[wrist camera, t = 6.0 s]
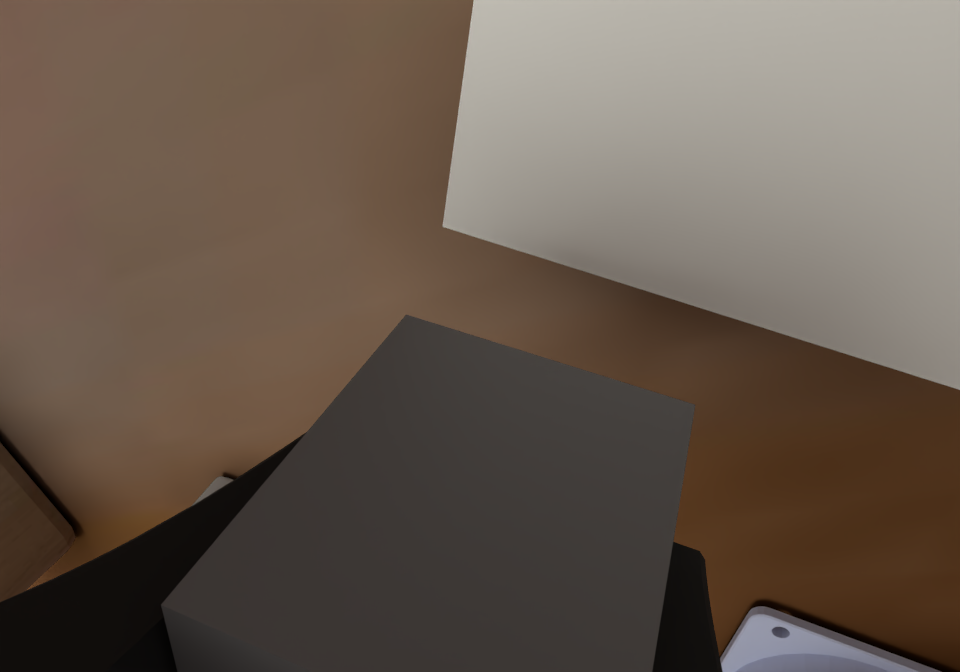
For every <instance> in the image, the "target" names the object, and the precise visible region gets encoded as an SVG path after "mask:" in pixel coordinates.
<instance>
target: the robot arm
mask: <svg viewBox="0 0 960 672" xmlns="http://www.w3.org/2000/svg"><path fill="white" fill-rule="evenodd" d="M306 433H307V432H306ZM306 433H305V434H306ZM305 434H303V435H302V436H300V437H299V438H297V439H296V440H294V441H293V442H291V443H290V444H288V445H287V446H285V447H284V448H282V449H281V450H279V451H278V452H276V453H275V454H273V455H272V456H270V457H269V458H267V459H266V460H264V461H263V462H261V463H260V464H258V465H256V466H255V467H253V468H252V469H250V470H249V471H247V472H246V473H244V474H243V475H241V476H239V477H238V478H236V479H235V480H233V481H231V482H230V483H228V484H226V485H225V486H223V487H222V488H220V489H218V490H217V491H215V492H214V493H212V494H210V495H209V496H207V497H206V498H204V499H202V500H201V501H199V502H197V503H196V504H194V505H192V506H191V507H189V508H187V509H186V510H184V511H182V512H180V513H178V514H177V515H175V516H173V517H171V518H170V519H168V520H166V521H164V522H163V523H161V524H159V525H157V526H155V527H154V528H152V529H150V530H148V531H147V532H145V533H143V534H141V535H140V536H138V537H136V538H134V539H132V540H130V541H128V542H127V543H125V544H123V545H121V546H119V547H117V548H115V549H113V550H111V551H109V552H107V553H105V554H103V555H101V556H99V557H97V558H95V559H93V560H91V561H89V562H87V563H85V564H83V565H81V566H79V567H77V568H75V569H73V570H71V571H69V572H67V573H64V574H62V575H60V576H58V577H56V578H54V579H52V580H49V581H47V582H45V583H43V584H40V585H38V586H36V587H34V588H31V589H29V590H27V591H24V592H22V593H20V594H18V595H15V596H13V597H11V598H8V599H6V600H4V601H2V602H0V672H177V668H176V664H175V660H174V656H173V652H172V648H171V644H170V639H169V635H168V631H167V627H166V623H165V619H164V615H163V611H162V607H161V604H162V603H163V602H164V601H165V599H166V598H167V597H168V596H169V595H170V594H171V592H172V591H173V590H174V589H175V588H176V586H177V585H178V584H179V583H180V582H181V581H182V579H183V578H184V577H185V576H186V575H187V573H188V572H189V571H190V570H191V569H192V568H193V566H194V565H195V564H196V563H197V562H198V560H199V559H200V558H201V557H202V556H203V555H204V553H205V552H206V551H207V550H208V549H209V547H210V546H211V545H212V544H213V543H214V541H215V540H216V539H217V538H218V537H219V536H220V534H221V533H222V532H223V531H224V530H225V528H226V527H227V526H228V525H229V524H230V523H231V521H232V520H233V519H234V518H235V517H236V515H237V514H238V513H239V512H240V511H241V510H242V508H243V507H244V506H245V505H246V504H247V502H248V501H249V500H250V499H251V498H252V497H253V495H254V494H255V493H256V492H257V491H258V489H259V488H260V487H261V486H262V485H263V484H264V482H265V481H266V480H267V479H268V478H269V476H270V475H271V474H272V473H273V472H274V470H275V469H276V468H277V467H278V466H279V465H280V463H281V462H282V461H283V460H284V459H285V457H286V456H287V455H288V454H289V453H290V452H291V450H292V449H293V448H294V447H295V446H296V444H297V443H298V442H299V441H300V440H301V439H302V437H303V436H304V435H305ZM782 627H783V628H782ZM652 672H941V671H939V670H936V669H933V668H931V667H928V666H925V665H923V664H920V663H917V662H914V661H912V660H909V659H906V658H904V657H901V656H898V655H896V654H893V653H890V652H888V651H885V650H882V649H880V648H877V647H874V646H871V645H869V644H866V643H863V642H861V641H858V640H855V639H853V638H850V637H847V636H845V635H842V634H839V633H837V632H834V631H831V630H828V629H826V628H823V627H820V626H818V625H815V624H812V623H810V622H807V621H804V620H802V619H799V618H796V617H793V616H791V615H788V614H785V613H783V612H780V611H777V610H775V609H772V608H769V607H765V606H758V607H755V608H752V609H751V610H750V611H749V612H748V614H747V615H746V617H745V619H744V620H743V622H742V623H741V625H740V627H739V628H738V630H737V632H736V633H735V635H734V636H733V638H732V640H731V641H730V643H729V645H728V646H727V648H726V649H725V651H724V653H723V654H722V656H721V658H720V657H719V652H718V647H717V641H716V636H715V631H714V625H713V620H712V614H711V607H710V601H709V594H708V586H707V577H706V567H705V559H704V557H703V556H702V554H701V553H700V551H697V550H695V549H692V548H689V547H686V546H683V545H680V544H678V543H675V542H673V546H672V552H671V558H670V564H669V571H668V577H667V583H666V589H665V595H664V602H663V608H662V614H661V620H660V626H659V633H658V639H657V645H656V651H655V657H654V664H653V670H652Z"/></svg>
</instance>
